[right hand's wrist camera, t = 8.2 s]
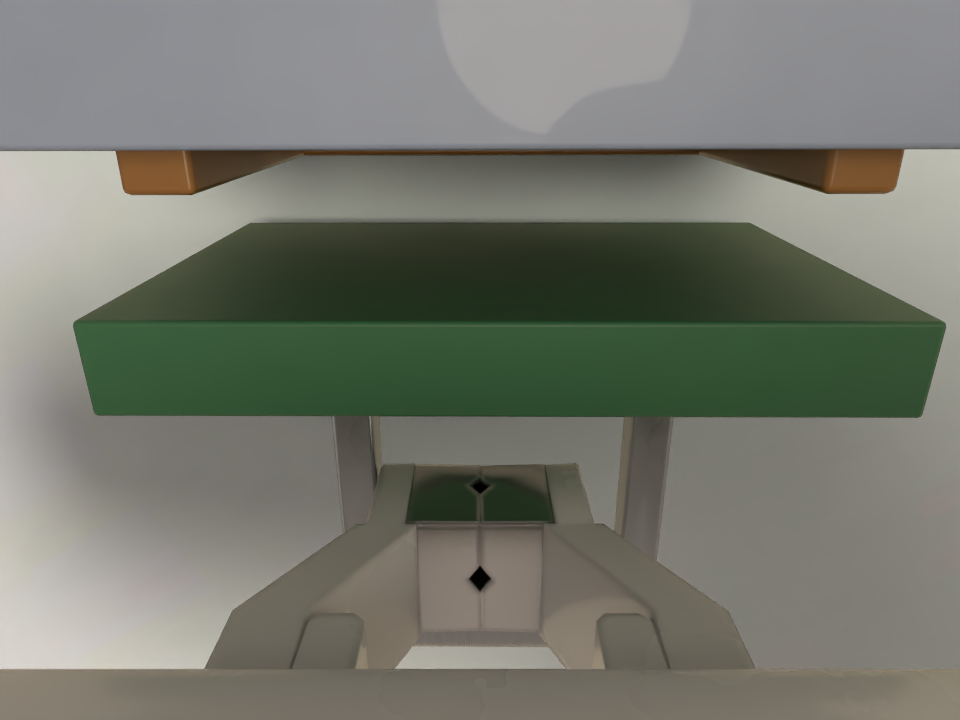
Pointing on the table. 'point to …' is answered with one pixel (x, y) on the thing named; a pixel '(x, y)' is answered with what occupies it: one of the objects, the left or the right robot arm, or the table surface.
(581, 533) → the right robot arm
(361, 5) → the cabinet
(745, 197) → the table surface
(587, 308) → the drawer
